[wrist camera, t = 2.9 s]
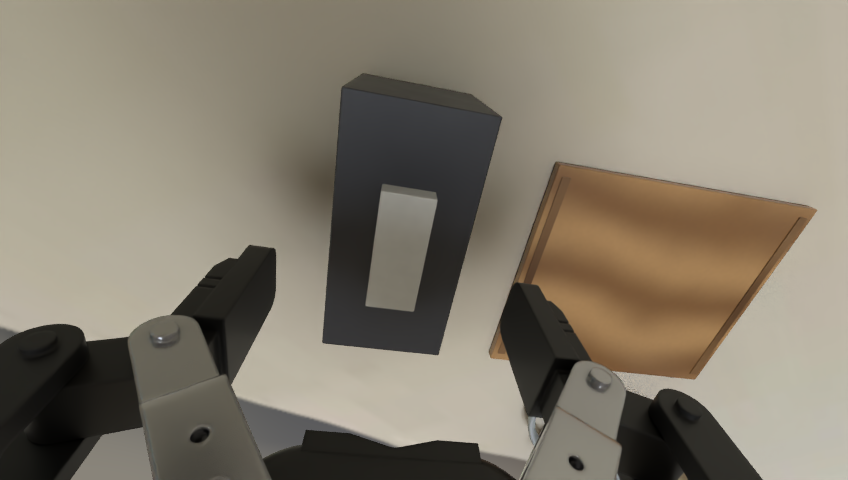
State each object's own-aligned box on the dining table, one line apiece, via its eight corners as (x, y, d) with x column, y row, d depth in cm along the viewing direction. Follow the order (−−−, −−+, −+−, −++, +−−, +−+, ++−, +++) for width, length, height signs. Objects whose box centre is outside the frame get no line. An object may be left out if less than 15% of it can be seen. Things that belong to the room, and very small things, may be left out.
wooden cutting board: (555, 161, 20) (560, 165, 19) (808, 206, 22) (819, 210, 21) (488, 352, 26) (490, 359, 26) (689, 373, 28) (695, 380, 28)
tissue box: (362, 73, 18) (337, 89, 11) (472, 94, 18) (508, 121, 12) (343, 267, 23) (318, 356, 16) (430, 278, 23) (439, 368, 17)
